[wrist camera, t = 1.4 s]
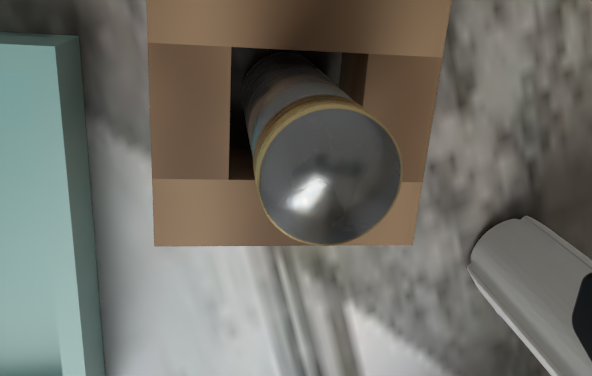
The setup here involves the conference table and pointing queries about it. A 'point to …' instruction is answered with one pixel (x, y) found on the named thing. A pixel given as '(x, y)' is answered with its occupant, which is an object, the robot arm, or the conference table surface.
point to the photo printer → (534, 289)
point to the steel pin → (317, 153)
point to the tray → (46, 213)
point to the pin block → (216, 104)
